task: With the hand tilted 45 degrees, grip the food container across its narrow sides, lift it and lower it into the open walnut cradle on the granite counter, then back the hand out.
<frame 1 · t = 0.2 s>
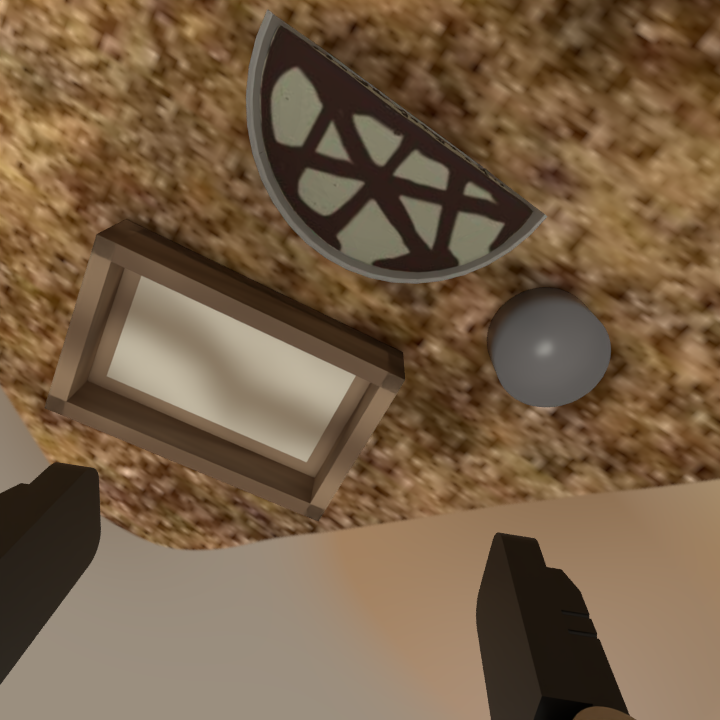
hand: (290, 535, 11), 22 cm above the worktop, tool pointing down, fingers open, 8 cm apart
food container: (371, 164, 29), on the worktop
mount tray: (235, 366, 34), on the worktop
grey domed puck: (538, 336, 33), on the worktop
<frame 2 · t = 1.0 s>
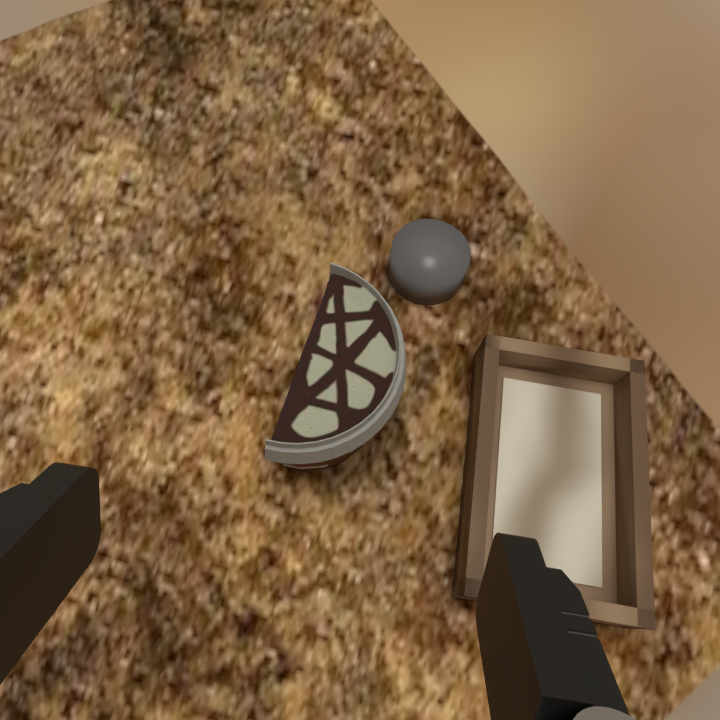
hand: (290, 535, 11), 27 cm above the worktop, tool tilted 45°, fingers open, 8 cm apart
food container: (347, 417, 40), on the worktop
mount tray: (543, 478, 39), on the worktop
grey domed puck: (424, 273, 46), on the worktop
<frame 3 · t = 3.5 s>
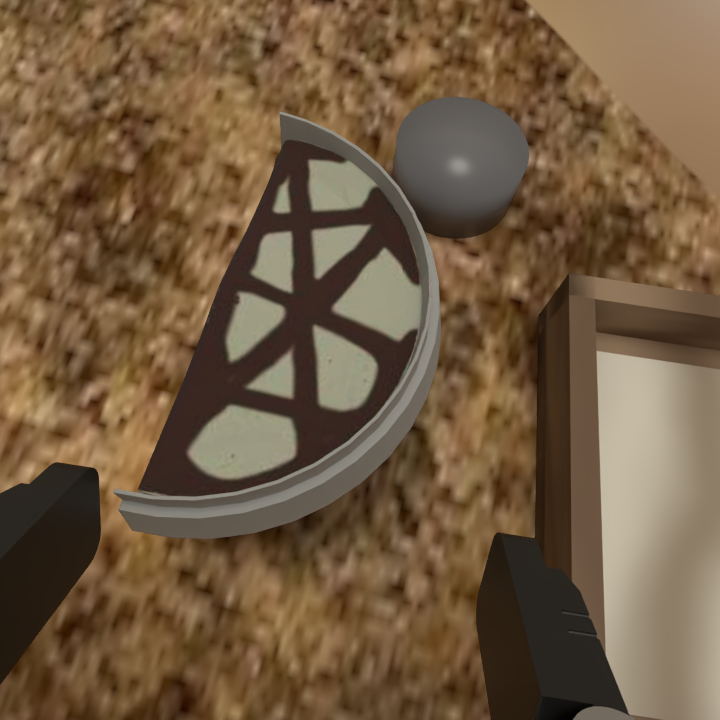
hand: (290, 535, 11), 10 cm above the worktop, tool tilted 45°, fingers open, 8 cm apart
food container: (328, 425, 23), on the worktop
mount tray: (676, 527, 22), on the worktop
grey domed puck: (450, 190, 28), on the worktop
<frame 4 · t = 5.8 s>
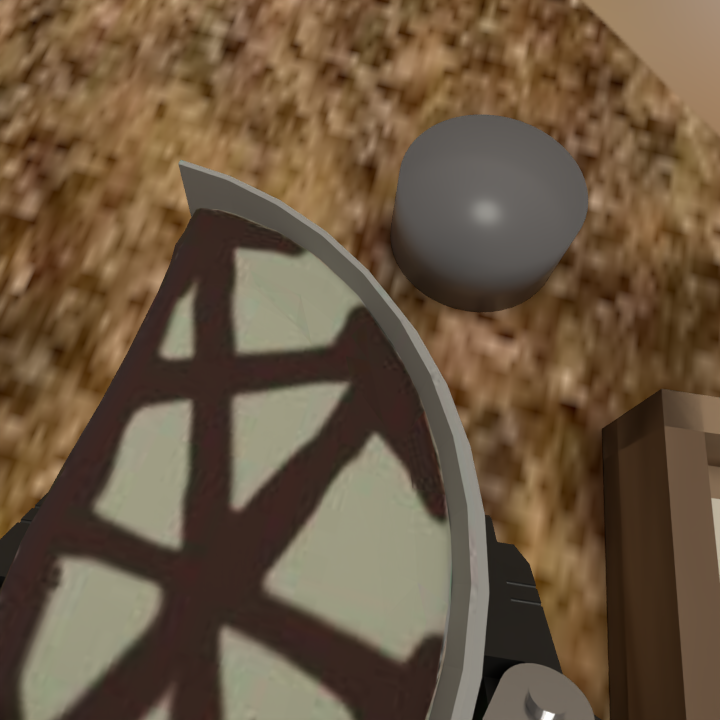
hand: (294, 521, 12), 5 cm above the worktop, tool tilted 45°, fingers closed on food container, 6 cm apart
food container: (295, 609, 16), on the worktop, touching gripper
grey domed puck: (472, 241, 21), on the worktop
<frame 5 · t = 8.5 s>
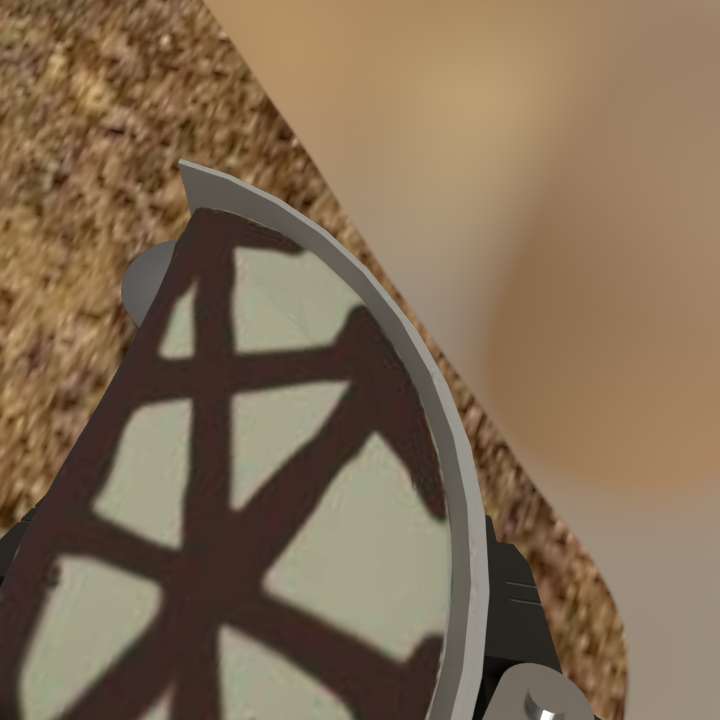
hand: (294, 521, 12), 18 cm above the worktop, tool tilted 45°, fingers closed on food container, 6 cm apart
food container: (295, 608, 16), point 14 cm above the worktop, touching gripper
grey domed puck: (189, 310, 34), on the worktop
when the fingers open (7 cm above the worktop, at t = 11.2 s): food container drops 1 cm, resting on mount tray.
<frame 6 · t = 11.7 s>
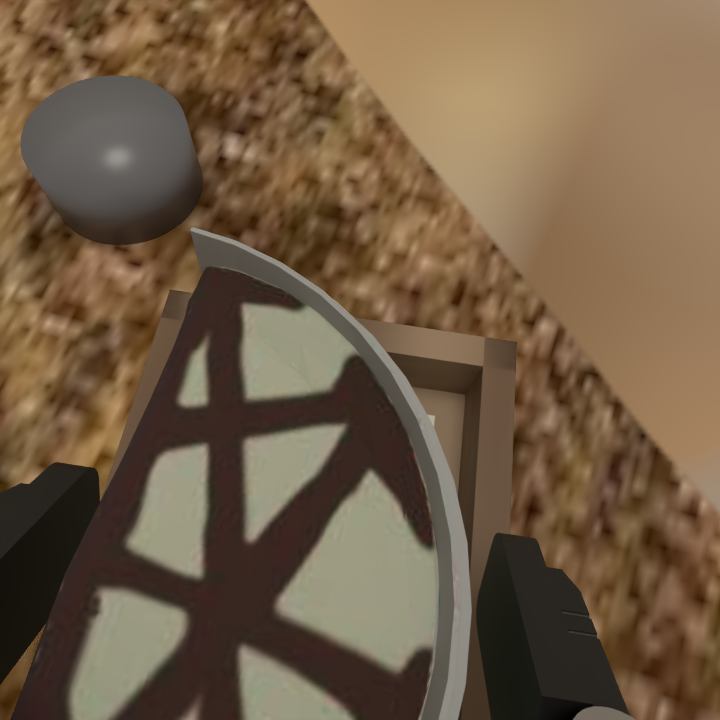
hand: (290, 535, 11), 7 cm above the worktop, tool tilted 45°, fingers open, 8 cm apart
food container: (301, 619, 17), point 1 cm above the worktop, touching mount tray
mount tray: (297, 608, 18), on the worktop
grey domed puck: (130, 187, 24), on the worktop
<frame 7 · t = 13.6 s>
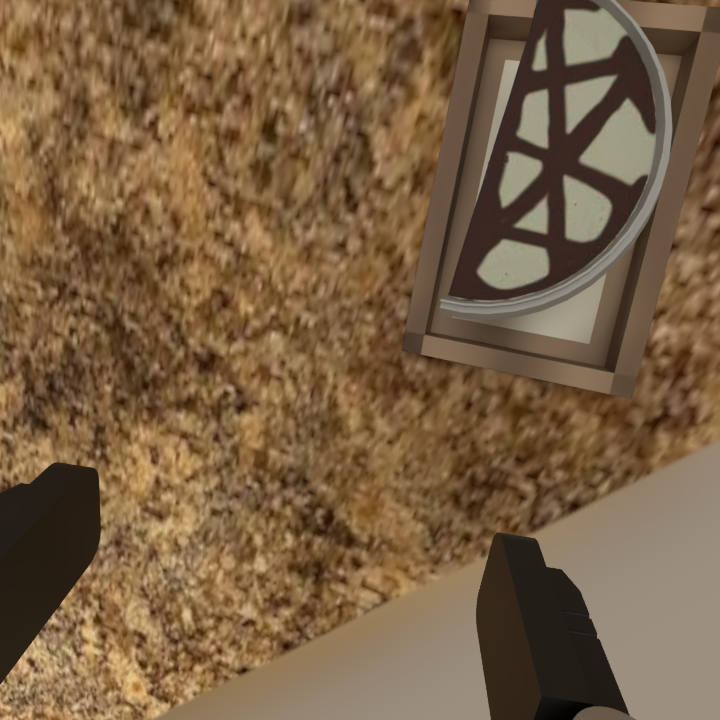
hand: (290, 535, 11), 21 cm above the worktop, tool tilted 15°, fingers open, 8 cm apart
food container: (550, 209, 29), point 1 cm above the worktop, touching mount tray
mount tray: (545, 206, 30), on the worktop
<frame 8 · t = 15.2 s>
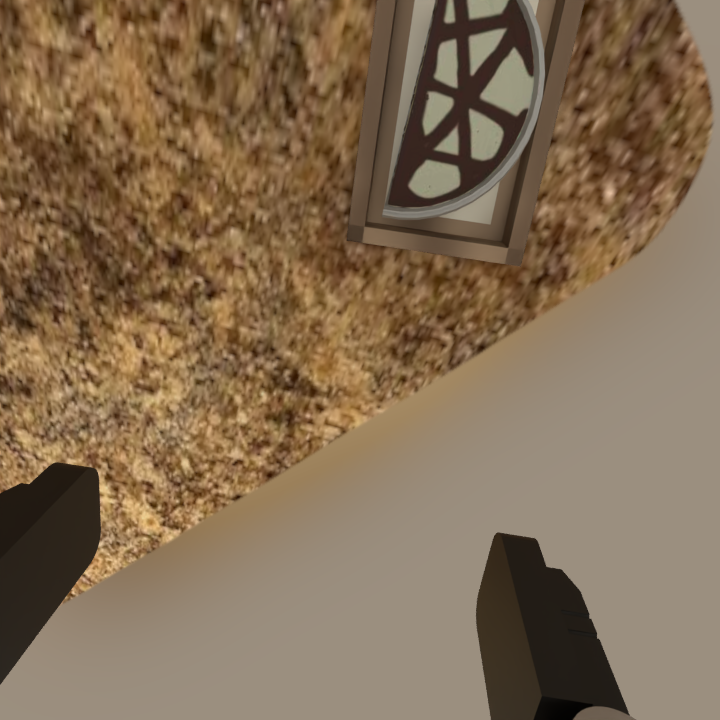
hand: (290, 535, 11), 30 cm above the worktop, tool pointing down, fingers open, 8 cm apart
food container: (459, 113, 35), point 1 cm above the worktop, touching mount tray
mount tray: (455, 109, 36), on the worktop
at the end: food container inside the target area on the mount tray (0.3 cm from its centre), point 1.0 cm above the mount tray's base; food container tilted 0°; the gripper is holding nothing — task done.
